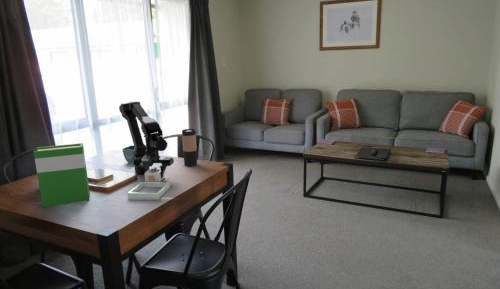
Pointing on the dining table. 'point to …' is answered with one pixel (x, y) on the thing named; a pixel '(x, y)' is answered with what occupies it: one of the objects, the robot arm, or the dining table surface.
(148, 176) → the collar
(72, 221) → the dining table surface
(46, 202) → the hardback book
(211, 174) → the dining table surface
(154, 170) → the stand
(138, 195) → the tray
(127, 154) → the flower pot
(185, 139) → the travel mug
